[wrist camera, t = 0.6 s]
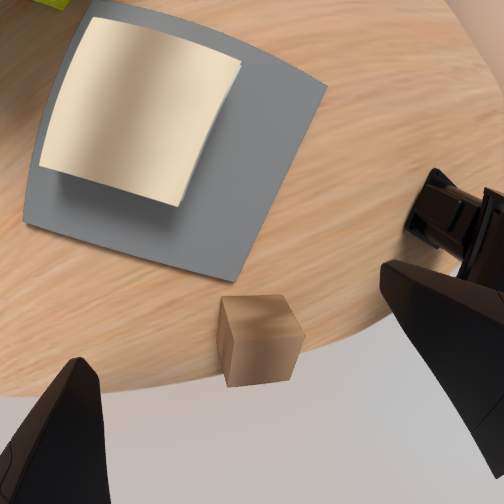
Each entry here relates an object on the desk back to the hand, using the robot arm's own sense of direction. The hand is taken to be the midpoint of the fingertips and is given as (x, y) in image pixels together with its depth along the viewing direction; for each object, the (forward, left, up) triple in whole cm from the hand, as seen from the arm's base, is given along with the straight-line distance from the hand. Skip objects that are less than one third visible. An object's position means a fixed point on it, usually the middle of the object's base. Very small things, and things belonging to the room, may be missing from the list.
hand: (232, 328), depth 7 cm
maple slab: (+5, -4, -12) cm, 13 cm away
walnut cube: (-8, +9, -12) cm, 17 cm away
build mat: (+3, -2, -12) cm, 13 cm away
